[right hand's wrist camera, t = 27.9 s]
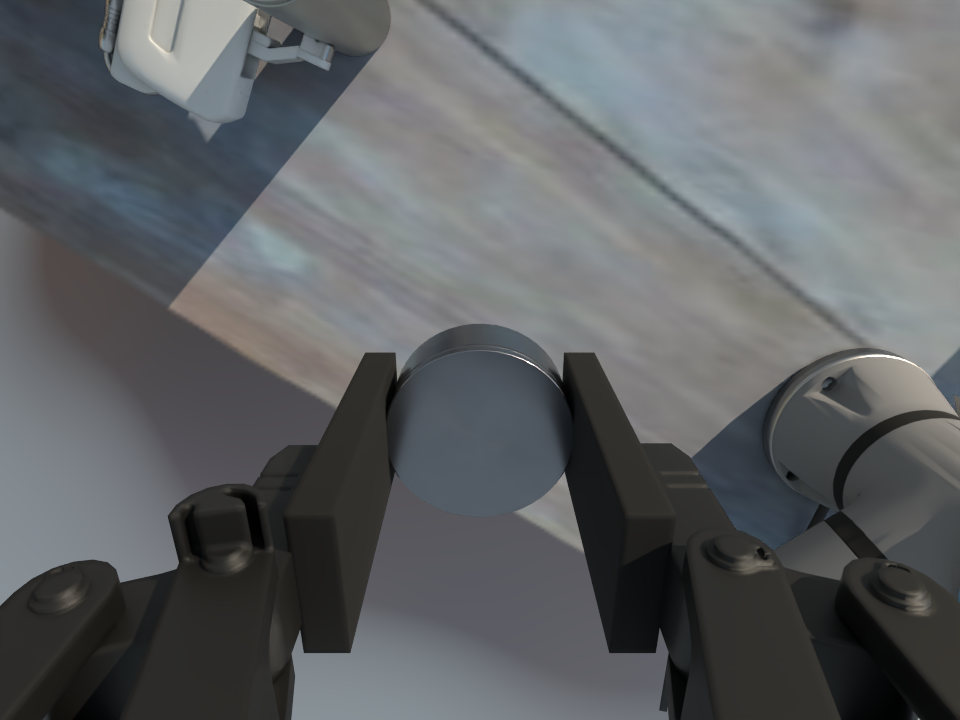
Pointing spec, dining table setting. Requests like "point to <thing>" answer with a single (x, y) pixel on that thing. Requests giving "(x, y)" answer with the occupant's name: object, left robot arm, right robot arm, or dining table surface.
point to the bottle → (335, 21)
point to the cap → (479, 422)
